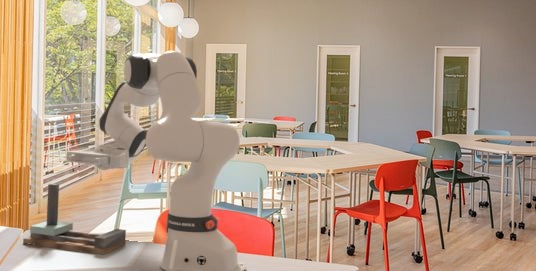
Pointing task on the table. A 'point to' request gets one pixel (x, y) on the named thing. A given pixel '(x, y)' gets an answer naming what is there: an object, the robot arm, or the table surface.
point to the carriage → (52, 216)
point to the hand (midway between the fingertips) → (83, 159)
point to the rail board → (81, 241)
